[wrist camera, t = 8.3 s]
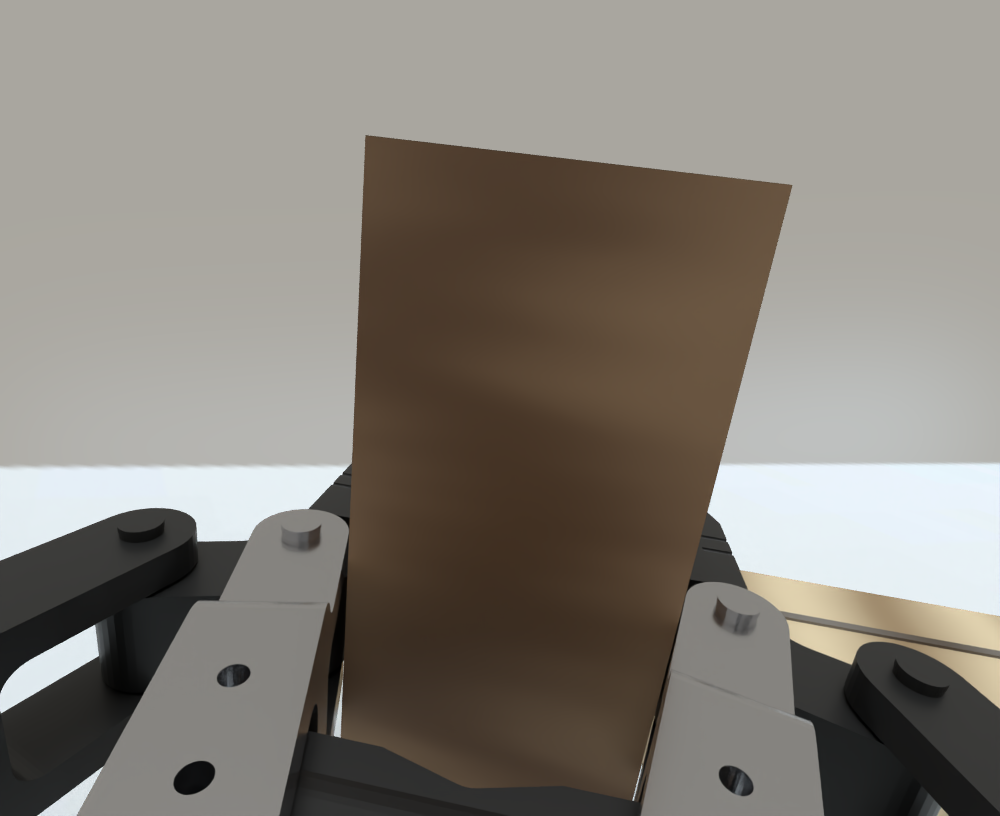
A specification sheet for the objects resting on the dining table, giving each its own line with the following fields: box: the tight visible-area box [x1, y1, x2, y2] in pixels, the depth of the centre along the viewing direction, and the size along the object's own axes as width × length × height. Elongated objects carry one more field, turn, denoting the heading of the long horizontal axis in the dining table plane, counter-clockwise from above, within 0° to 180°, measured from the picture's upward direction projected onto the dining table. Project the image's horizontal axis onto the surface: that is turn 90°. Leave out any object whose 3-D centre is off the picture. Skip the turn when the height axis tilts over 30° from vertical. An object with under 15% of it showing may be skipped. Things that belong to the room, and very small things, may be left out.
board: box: [642, 570, 1000, 816], centre depth 19 cm, size 22×8×2 cm, turn 82°
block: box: [341, 135, 792, 801], centre depth 14 cm, size 4×13×14 cm, turn 172°
